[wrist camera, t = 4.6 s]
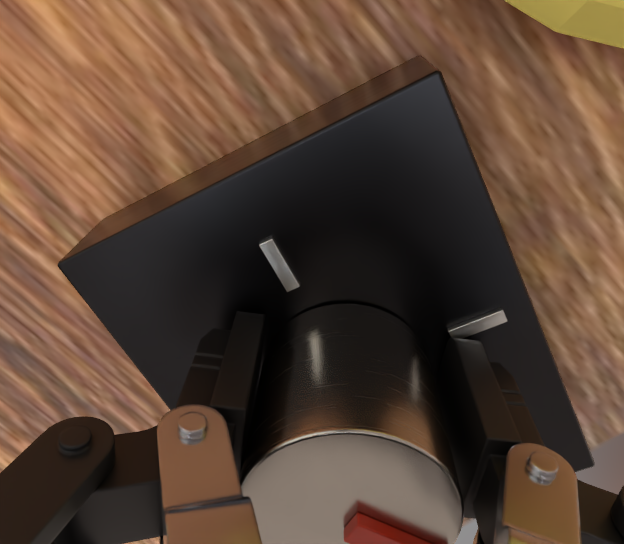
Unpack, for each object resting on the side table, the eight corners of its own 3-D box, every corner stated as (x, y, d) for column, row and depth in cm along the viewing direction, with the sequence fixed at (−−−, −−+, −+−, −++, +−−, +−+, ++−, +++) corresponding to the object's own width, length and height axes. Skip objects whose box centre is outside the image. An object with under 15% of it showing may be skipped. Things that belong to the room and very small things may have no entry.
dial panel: (101, 219, 16) (51, 267, 14) (420, 53, 14) (441, 69, 11) (294, 488, 21) (287, 565, 18) (559, 398, 19) (598, 471, 16)
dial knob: (235, 397, 15) (194, 557, 11) (312, 273, 13) (299, 406, 9) (373, 459, 16) (386, 630, 12) (463, 349, 14) (518, 505, 10)
